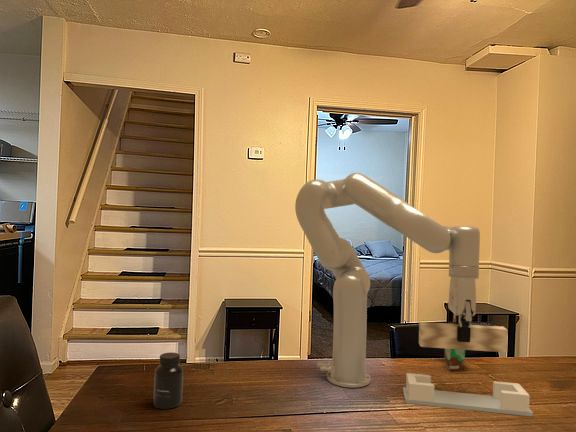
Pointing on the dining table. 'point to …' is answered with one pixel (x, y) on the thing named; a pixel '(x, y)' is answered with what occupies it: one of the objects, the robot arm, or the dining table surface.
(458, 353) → the food container
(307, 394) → the dining table surface
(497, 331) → the slat
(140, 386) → the dining table surface
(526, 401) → the frame
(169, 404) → the supplement bottle
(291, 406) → the dining table surface
